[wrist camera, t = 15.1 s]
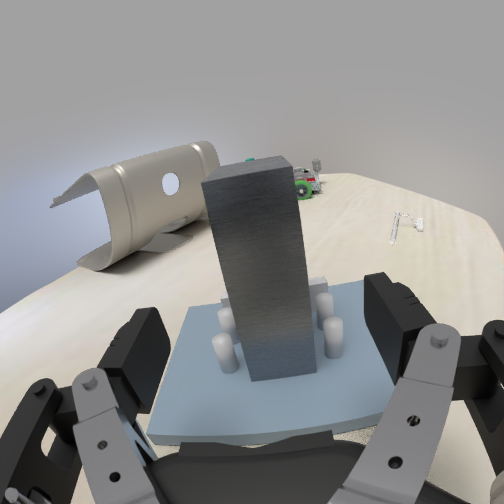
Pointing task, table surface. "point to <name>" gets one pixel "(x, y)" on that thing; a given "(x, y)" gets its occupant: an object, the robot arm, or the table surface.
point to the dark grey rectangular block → (263, 264)
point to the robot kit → (305, 180)
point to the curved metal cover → (146, 200)
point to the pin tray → (277, 390)
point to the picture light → (418, 226)
